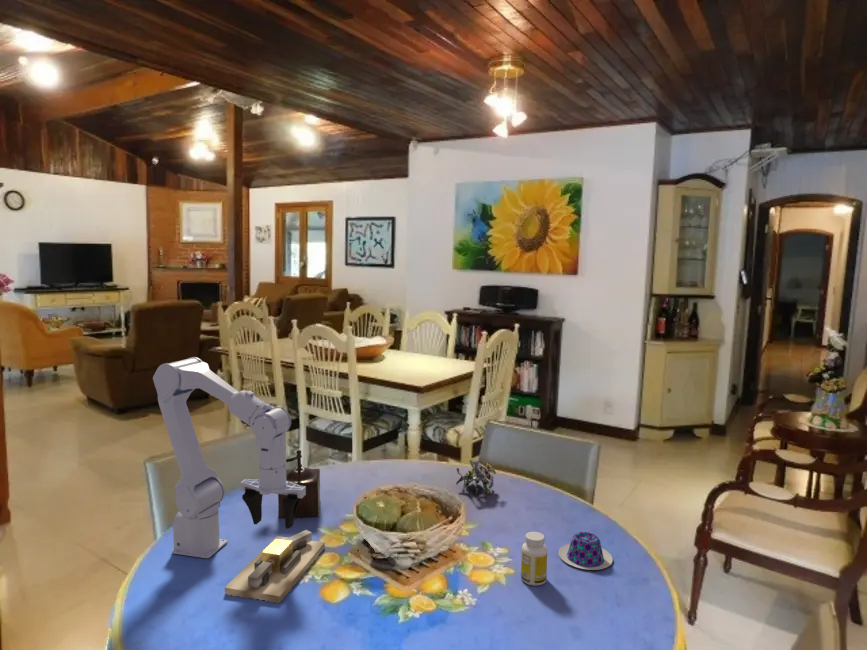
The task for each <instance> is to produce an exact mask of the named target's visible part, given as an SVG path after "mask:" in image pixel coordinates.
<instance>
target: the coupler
mask: <svg viewBox="0 0 867 650" xmlns="http://www.w3.org/2000/svg"><path fill="white" fill-rule="evenodd" d="M274 539H275V538H274ZM274 539H273V540H274ZM273 540H272V541H273ZM272 541H271V542H272ZM271 542H270V543H271ZM270 543H269V544H270ZM269 544H268V545H269ZM268 545H267V546H268ZM267 546H266V547H267ZM292 555H293V546H292V541H289V540H281V539H275V540H274V541H273V542H272V543H271V544H270V545H269V546H268V547H267V548H266V549H265V550H264V551H263V552H262V562H263V561H264V562H270V563H272V572H279V573H280V572H281V567H282V566H283V565H284V564H285V563H286V561H287V560H288V559H289V558H290V557H291V556H292Z"/></svg>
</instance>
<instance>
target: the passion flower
mask: <svg viewBox="0 0 867 650" xmlns="http://www.w3.org/2000/svg"><path fill="white" fill-rule="evenodd" d="M469 464H470V466H471V467H472V469H469V470H467V471H468V472H466V473H465V475H462V474H461V472H460V468H459V467H456V472H457V474H458V475H459V476H460V478H459V479H458V480H457V481H456V483H455V485H459V483H461V482H463V487H462V490H461V492H464V491H465V488H467V487H469V486H470V484H471V483H472V482H473V481H474V482H475V485H477V484H479V483H480V481H481V482H482V486H483V490H484V493H486V495H488V496H489V495H492V494H493V490H492V488H493V486H494V476H493V475H492V474H494V475H496V473H497V472H496V470H495V469H494V468H493V466H492V464H491V462H487V463H486V465H484V464H483V463H481V462H480V461H478V460H476V461H475V462H474V458H473V459H469ZM491 473H492V474H491Z"/></svg>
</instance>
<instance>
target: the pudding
mask: <svg viewBox="0 0 867 650" xmlns="http://www.w3.org/2000/svg"><path fill="white" fill-rule="evenodd" d="M558 556H559V558H560V559H561V560H562V561H563V562H565V563H566V564H568V565H570V566H572V567H575V568H577V569H582V570H588V571H589V570H590V571H595V570H596V571H598V570H603V569H606V568H608V567H610V566H611V565H612V564H613V561H614V559H613V556H612V554H611V553H610V552H608V551H607V550H606V549H604V548H603V547H602V544H601V540H600V538H599V537H598V536H597V535H596V534H594V533H590V532H588V531H585V532H582V531H578V532H577V533H575V534H573V535H572V538H571V540H570V543H567V544H564V545H562V546H561V547H560V548H559V550H558Z"/></svg>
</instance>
